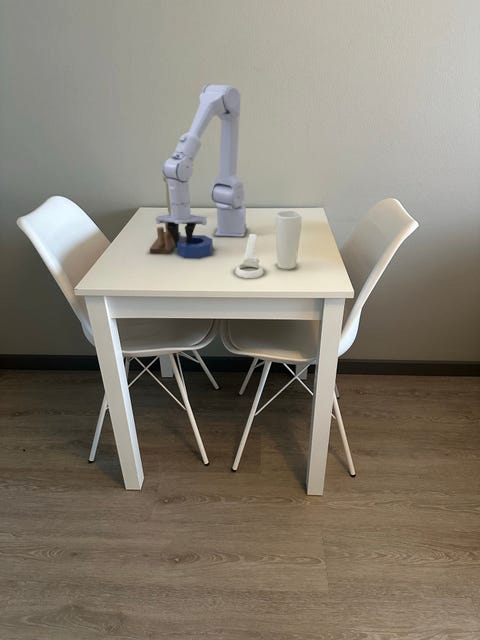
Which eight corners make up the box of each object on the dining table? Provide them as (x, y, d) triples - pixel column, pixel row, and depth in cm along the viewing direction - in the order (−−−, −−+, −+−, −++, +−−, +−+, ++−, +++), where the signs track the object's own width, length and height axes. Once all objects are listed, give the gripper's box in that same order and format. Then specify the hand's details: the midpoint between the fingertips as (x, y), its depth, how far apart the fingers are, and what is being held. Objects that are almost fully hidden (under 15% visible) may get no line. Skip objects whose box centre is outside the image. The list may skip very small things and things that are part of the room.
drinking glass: (292, 273, 127) (294, 219, 119) (270, 267, 130) (271, 215, 122) (302, 264, 132) (305, 212, 124) (281, 259, 135) (283, 208, 127)
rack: (180, 236, 152) (179, 215, 149) (169, 254, 140) (167, 231, 136) (162, 235, 153) (160, 215, 149) (150, 253, 140) (147, 231, 137)
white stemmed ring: (267, 243, 132) (271, 237, 125) (259, 284, 131) (263, 280, 124) (241, 237, 131) (243, 231, 124) (233, 279, 130) (235, 275, 123)
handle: (170, 221, 166) (166, 178, 158) (164, 216, 171) (160, 174, 163) (183, 219, 168) (179, 176, 160) (176, 214, 173) (173, 172, 165)
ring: (214, 245, 145) (214, 235, 143) (208, 258, 136) (208, 247, 134) (182, 245, 146) (182, 234, 144) (175, 257, 137) (174, 246, 135)
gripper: (151, 205, 131) (156, 251, 138) (202, 206, 129) (204, 252, 136) (157, 198, 137) (162, 242, 144) (206, 199, 136) (208, 243, 142)
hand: (183, 246), depth 141 cm, fingers closed on ring, 3 cm apart
